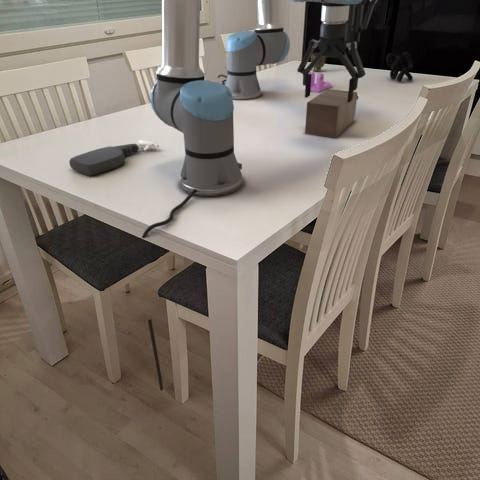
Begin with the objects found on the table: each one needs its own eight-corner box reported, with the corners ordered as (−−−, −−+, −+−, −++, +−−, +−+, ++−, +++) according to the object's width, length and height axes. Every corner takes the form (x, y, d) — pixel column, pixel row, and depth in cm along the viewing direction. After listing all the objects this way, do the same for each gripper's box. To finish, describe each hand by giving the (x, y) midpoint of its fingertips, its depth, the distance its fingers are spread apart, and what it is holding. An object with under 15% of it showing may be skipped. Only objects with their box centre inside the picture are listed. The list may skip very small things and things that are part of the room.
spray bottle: (67, 168, 120) (139, 144, 136) (91, 178, 114) (163, 151, 130) (65, 157, 118) (137, 134, 134) (89, 167, 112) (162, 142, 128)
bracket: (318, 92, 184) (319, 74, 181) (306, 90, 187) (307, 72, 184) (333, 85, 193) (334, 68, 189) (321, 84, 196) (322, 67, 192)
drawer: (335, 108, 161) (337, 86, 157) (359, 111, 157) (362, 88, 153) (312, 126, 144) (313, 102, 140) (338, 130, 140) (341, 105, 136)
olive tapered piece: (307, 71, 218) (308, 54, 214) (312, 68, 224) (313, 51, 220) (322, 73, 215) (323, 55, 211) (326, 70, 221) (328, 52, 217)
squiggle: (400, 92, 202) (376, 71, 205) (417, 76, 202) (392, 56, 205) (405, 81, 191) (380, 59, 194) (423, 64, 191) (397, 42, 194)
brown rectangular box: (325, 117, 155) (327, 88, 150) (353, 121, 151) (357, 91, 146) (305, 133, 141) (306, 102, 136) (335, 138, 137) (338, 106, 132)
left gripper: (382, 22, 123) (372, 99, 135) (298, 19, 134) (295, 91, 145) (375, 25, 118) (365, 106, 129) (288, 22, 128) (286, 97, 140)
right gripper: (385, -31, 135) (374, 52, 147) (343, -31, 140) (336, 50, 153) (379, -30, 129) (368, 56, 142) (335, -30, 135) (328, 53, 147)
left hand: (328, 98), depth 137 cm, fingers open, 13 cm apart
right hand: (351, 53), depth 147 cm, fingers closed
